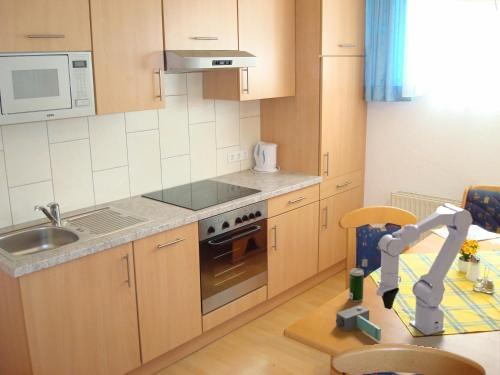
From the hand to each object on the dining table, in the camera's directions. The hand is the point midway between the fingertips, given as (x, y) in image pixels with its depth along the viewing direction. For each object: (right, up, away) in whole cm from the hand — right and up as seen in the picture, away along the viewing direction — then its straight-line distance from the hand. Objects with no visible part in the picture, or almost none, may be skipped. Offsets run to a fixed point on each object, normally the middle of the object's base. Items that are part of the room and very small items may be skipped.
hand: (388, 308), depth 184 cm
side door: (-7, -9, +1) cm, 11 cm away
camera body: (-11, -8, +8) cm, 16 cm away
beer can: (-5, -3, +28) cm, 29 cm away
